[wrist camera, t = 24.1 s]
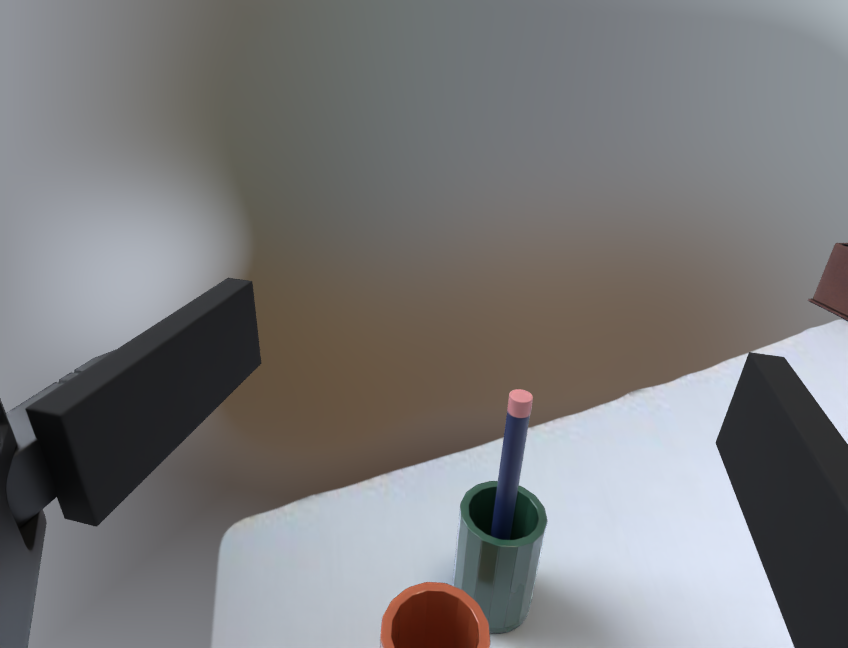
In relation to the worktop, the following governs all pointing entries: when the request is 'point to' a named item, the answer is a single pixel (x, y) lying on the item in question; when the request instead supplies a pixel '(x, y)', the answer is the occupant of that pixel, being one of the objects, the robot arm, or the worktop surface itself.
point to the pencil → (511, 462)
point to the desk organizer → (834, 283)
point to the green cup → (499, 556)
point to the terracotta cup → (434, 619)
